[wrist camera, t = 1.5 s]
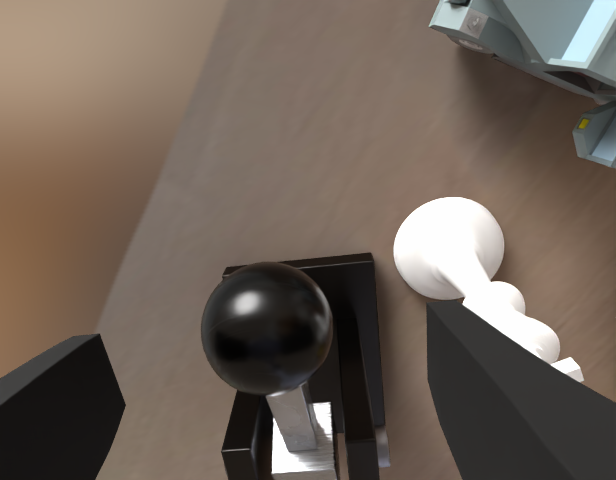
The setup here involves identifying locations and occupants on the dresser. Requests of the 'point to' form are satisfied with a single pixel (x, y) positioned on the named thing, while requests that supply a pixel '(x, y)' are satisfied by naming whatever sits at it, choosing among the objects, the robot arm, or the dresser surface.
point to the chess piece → (470, 271)
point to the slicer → (327, 378)
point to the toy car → (549, 52)
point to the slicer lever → (277, 360)
